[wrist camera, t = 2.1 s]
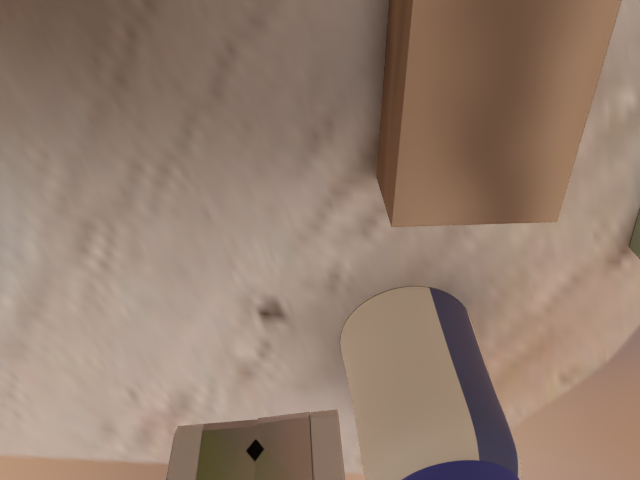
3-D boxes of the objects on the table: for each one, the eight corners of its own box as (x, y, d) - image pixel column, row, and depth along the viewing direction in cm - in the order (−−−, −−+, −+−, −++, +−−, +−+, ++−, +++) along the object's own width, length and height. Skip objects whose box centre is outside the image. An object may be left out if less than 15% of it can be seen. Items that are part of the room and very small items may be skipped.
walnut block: (375, 175, 27) (391, 226, 23) (390, -32, 22) (413, -7, 18) (519, 171, 27) (556, 221, 24) (566, -32, 22) (624, -8, 19)
